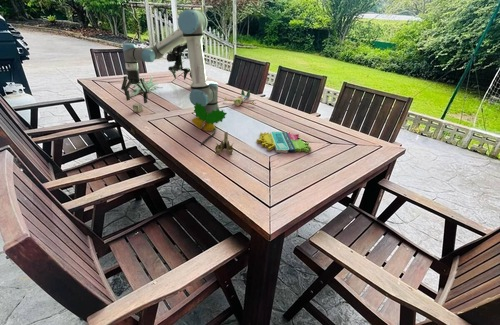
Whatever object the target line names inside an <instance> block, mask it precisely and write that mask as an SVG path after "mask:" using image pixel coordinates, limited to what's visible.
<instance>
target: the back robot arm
mask: <svg viewBox="0 0 500 325" xmlns="http://www.w3.org/2000/svg"><path fill="white" fill-rule="evenodd" d="M185 50H188V47H187V42H185V43H181V44H179V45H178V46H176V47H175V48H173V49H172V50H171V51H170V52H167V55H166V61H167V62H169V63H172V62H174V64H173V65H171V66H170V65H169V66H168V71H169V72H171V73H172V75H173V78H174V79H175V80H176V78H177V72H179V71H181V72H182V73H183V80H184V81H186V78H187V76H188V73H189V77H190V78H191V80H192V75H191V68H190V67H185V68H184V66H183V64H184V62H183V56H184V53H183V52H185ZM202 50H203V54H204V53H205V50H206V45H205V44H204V43H202Z"/></svg>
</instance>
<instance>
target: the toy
mask: <svg viewBox="0 0 500 325" xmlns="http://www.w3.org/2000/svg"><path fill="white" fill-rule="evenodd" d="M240 92H241V93H240V95H238V96H237V97H235V99H233V98H230V99H228V98H227V97H226V96H225V97H224V98H223V101H224V102H233V103H232V104H233V105H235V106H242V103H243V104H247V105H252V106H255V105H256V104H257V103H256V102H254V101H253V100H252V101H251V102H250V101H248V100H246V99H248V98H250V97H251V90H250V89H249V90H248V91H247V92H246V93H245V91H244V89H242V90H241V91H240Z"/></svg>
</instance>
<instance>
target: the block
mask: <svg viewBox="0 0 500 325" xmlns="http://www.w3.org/2000/svg"><path fill="white" fill-rule="evenodd" d="M132 110H133V113H136V114H137V113H142V112H143V110H144V109H143V104H142V103H134V104H132Z"/></svg>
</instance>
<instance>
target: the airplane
mask: <svg viewBox="0 0 500 325" xmlns="http://www.w3.org/2000/svg"><path fill="white" fill-rule="evenodd" d="M153 78H154V75H153V74H151V76H150V78H149V80H148V81H147V82H146V81H145V83H146V85H147V87H148V89H149V91H151V90H152V92H154V91H156V90H157V89H163V88H164V87H162V86H157V85H158V83H154V82H153ZM155 85H156V86H155ZM130 86H132V87H131V89H133V91H132V92H131V93H129V96H130V98H131V97H135V96H137V95H139V94H141V93H142V94H143V91H142V90H141V89H140V88H139V86H137V85H135V84H131V85H130Z"/></svg>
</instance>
